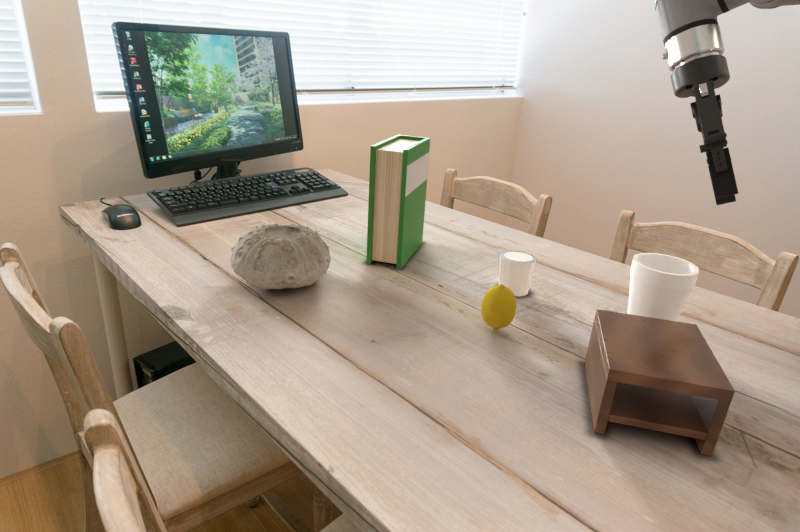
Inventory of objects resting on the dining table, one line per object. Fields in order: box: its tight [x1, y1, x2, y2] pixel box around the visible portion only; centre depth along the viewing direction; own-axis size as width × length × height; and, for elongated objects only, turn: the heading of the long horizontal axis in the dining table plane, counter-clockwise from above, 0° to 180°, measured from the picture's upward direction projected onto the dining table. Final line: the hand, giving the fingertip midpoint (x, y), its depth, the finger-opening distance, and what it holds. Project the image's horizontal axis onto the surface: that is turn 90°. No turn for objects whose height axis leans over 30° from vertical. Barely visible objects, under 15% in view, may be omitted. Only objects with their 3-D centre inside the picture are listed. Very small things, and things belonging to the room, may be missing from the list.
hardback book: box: [365, 134, 431, 270], centre depth 112 cm, size 18×7×24 cm, turn 163°
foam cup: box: [626, 252, 700, 322], centre depth 84 cm, size 10×9×13 cm
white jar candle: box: [497, 249, 538, 297], centre depth 100 cm, size 7×7×7 cm
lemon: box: [480, 284, 517, 331], centre depth 84 cm, size 6×6×8 cm
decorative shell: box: [229, 223, 332, 291], centre depth 97 cm, size 18×18×10 cm
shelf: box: [584, 308, 736, 457], centre depth 68 cm, size 13×16×9 cm
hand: (726, 200), depth 79 cm, fingers open, 13 cm apart
